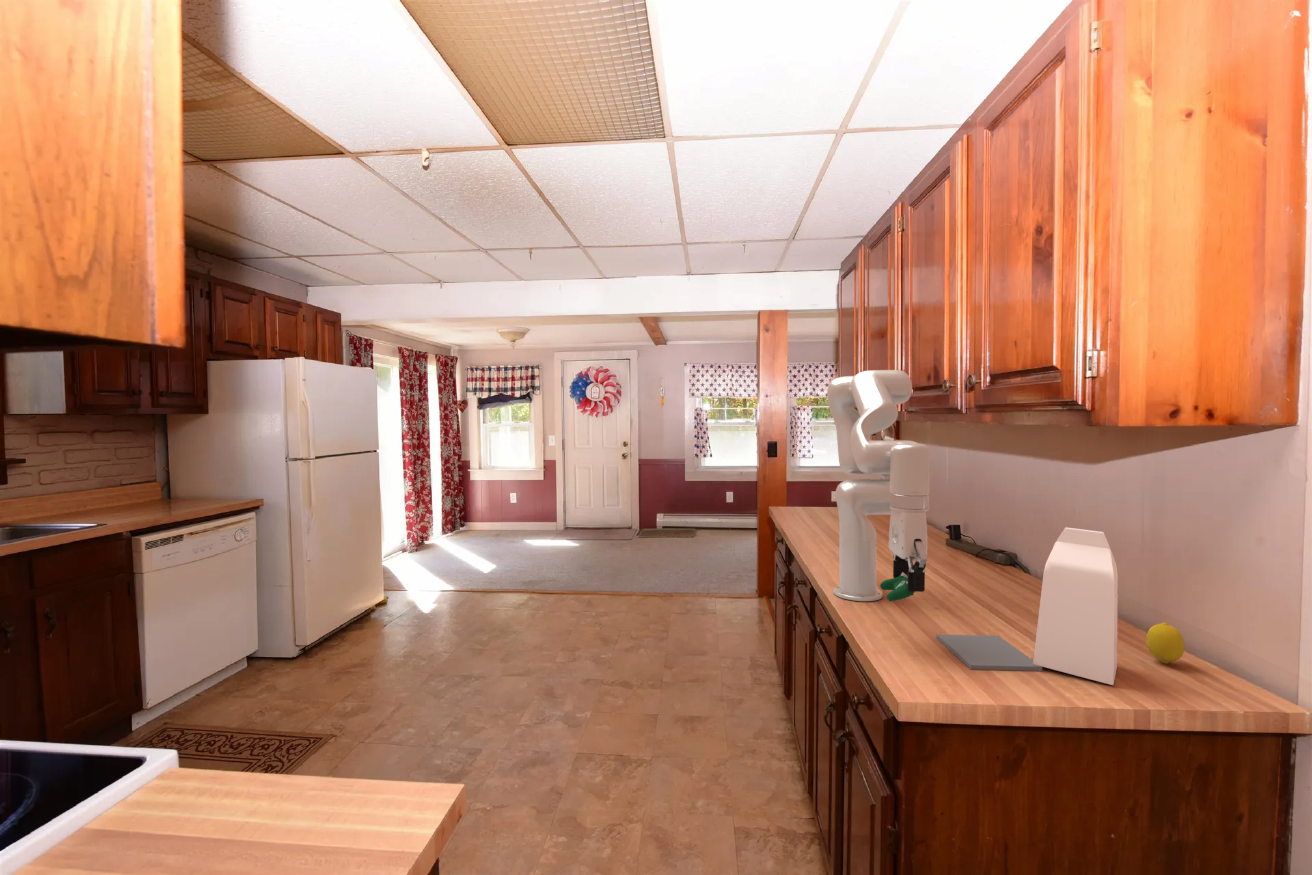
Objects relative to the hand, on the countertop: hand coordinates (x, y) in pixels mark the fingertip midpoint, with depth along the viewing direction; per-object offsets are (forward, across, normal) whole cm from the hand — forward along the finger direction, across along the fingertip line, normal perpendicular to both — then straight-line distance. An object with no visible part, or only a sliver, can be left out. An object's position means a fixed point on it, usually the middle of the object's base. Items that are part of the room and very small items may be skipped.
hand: (908, 584), depth 121 cm
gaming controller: (+3, 0, -2) cm, 3 cm away
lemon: (+13, +7, +46) cm, 48 cm away
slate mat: (+13, +4, +14) cm, 19 cm away
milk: (+12, +10, +28) cm, 32 cm away
